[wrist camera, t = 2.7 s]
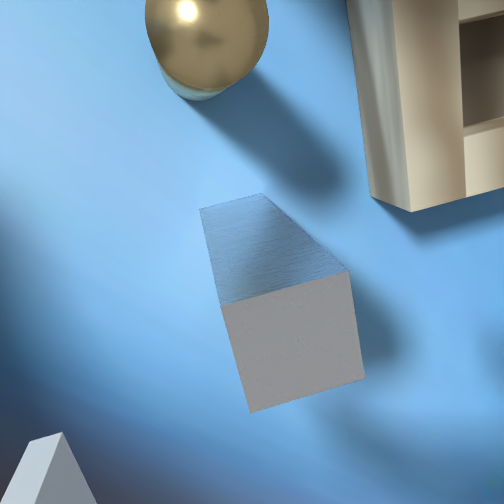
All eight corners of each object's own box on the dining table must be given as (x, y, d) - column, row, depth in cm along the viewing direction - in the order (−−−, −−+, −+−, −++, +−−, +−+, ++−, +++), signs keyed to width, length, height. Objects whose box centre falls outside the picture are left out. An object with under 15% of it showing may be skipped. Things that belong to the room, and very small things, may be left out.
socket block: (370, 196, 27) (411, 212, 22) (344, -12, 23) (387, -46, 18) (535, 152, 28) (608, 159, 23) (538, -54, 24) (627, -97, 19)
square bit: (214, 267, 26) (250, 413, 13) (199, 209, 25) (220, 306, 12) (274, 251, 27) (365, 378, 14) (261, 193, 25) (348, 270, 12)
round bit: (171, 108, 23) (165, 100, 14) (150, 30, 22) (127, -38, 12) (239, 92, 23) (279, 73, 14) (222, 14, 22) (254, -63, 13)
